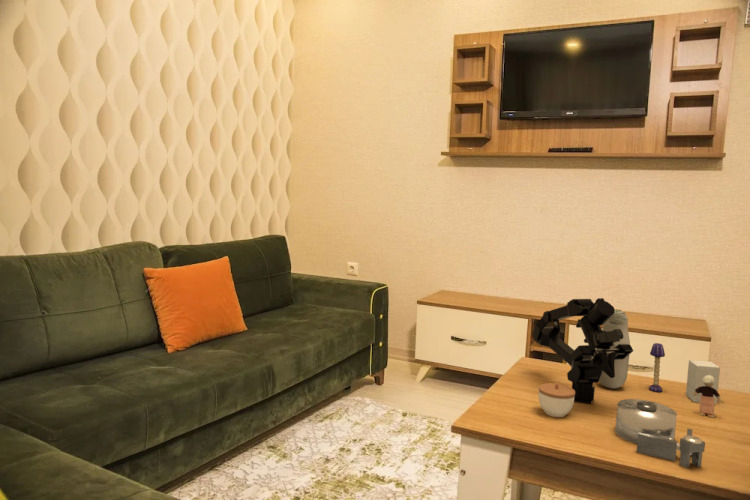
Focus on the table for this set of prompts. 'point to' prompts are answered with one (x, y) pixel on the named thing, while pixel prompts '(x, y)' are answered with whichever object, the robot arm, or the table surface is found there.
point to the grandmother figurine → (707, 396)
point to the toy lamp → (656, 365)
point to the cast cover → (644, 419)
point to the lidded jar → (556, 399)
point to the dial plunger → (680, 448)
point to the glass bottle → (620, 366)
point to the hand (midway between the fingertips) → (613, 377)
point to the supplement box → (701, 377)
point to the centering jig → (672, 448)
